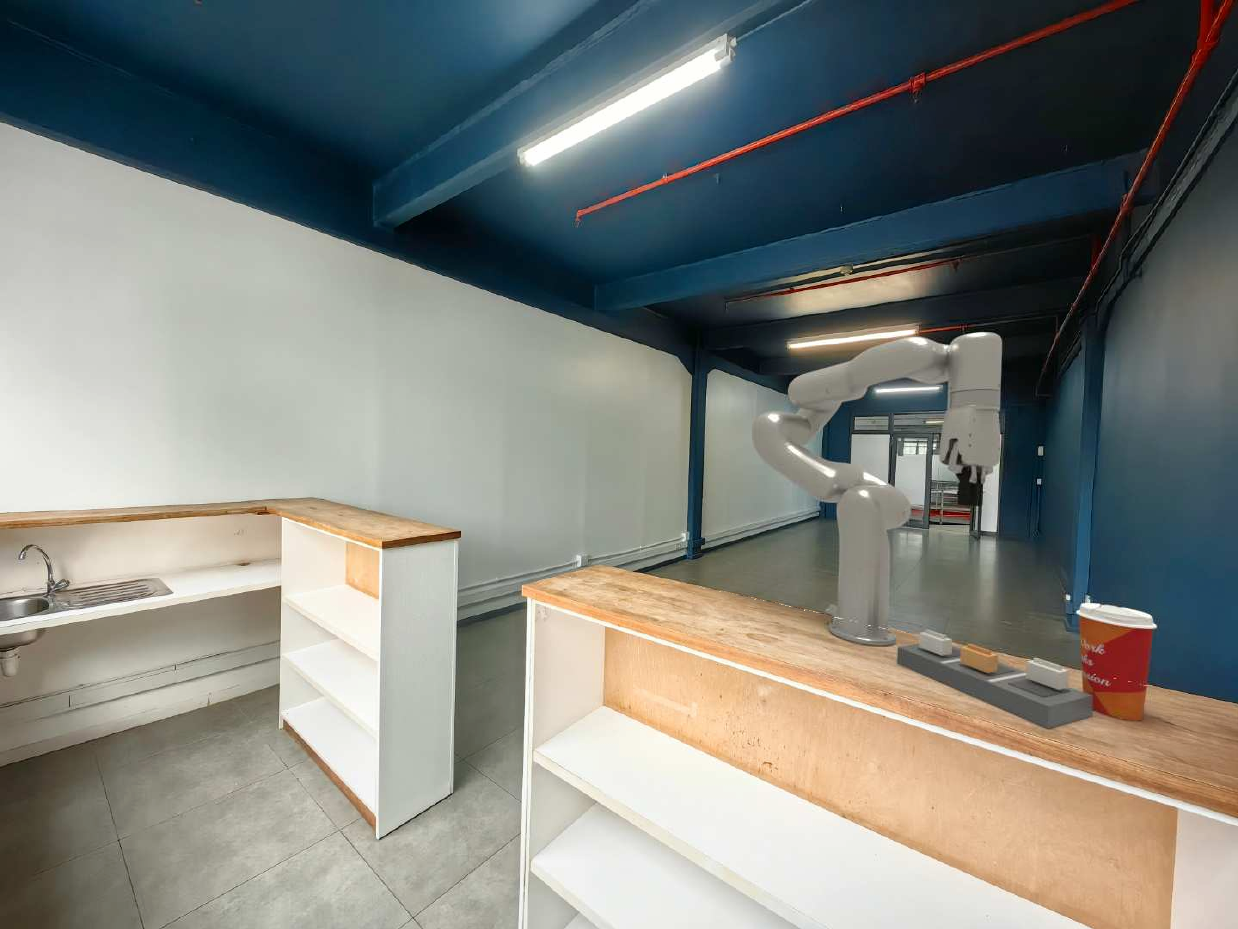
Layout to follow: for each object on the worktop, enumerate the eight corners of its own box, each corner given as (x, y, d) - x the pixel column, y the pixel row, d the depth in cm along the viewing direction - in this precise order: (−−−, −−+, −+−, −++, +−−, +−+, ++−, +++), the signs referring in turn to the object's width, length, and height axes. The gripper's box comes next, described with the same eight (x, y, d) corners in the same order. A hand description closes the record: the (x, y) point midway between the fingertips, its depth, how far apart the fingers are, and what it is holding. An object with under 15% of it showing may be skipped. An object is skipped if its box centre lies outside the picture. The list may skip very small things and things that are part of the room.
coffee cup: (1070, 691, 75) (1073, 598, 75) (1146, 710, 69) (1149, 610, 70) (1077, 711, 68) (1080, 609, 68) (1162, 733, 63) (1165, 622, 63)
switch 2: (960, 662, 76) (960, 643, 76) (970, 661, 77) (970, 642, 77) (987, 673, 72) (988, 653, 72) (997, 671, 73) (998, 651, 73)
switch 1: (919, 647, 82) (919, 629, 82) (928, 645, 83) (929, 628, 83) (941, 655, 78) (942, 637, 79) (951, 654, 79) (952, 636, 79)
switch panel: (897, 663, 83) (897, 646, 83) (937, 657, 87) (938, 640, 87) (1048, 728, 63) (1048, 705, 63) (1092, 716, 67) (1092, 694, 67)
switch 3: (1025, 678, 71) (1026, 657, 71) (1035, 676, 72) (1036, 656, 72) (1058, 690, 67) (1059, 668, 67) (1068, 687, 68) (1069, 666, 68)
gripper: (976, 409, 89) (973, 504, 89) (924, 402, 84) (920, 503, 83) (1022, 405, 82) (1019, 508, 82) (968, 396, 77) (965, 506, 76)
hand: (969, 505), depth 83 cm, fingers closed
